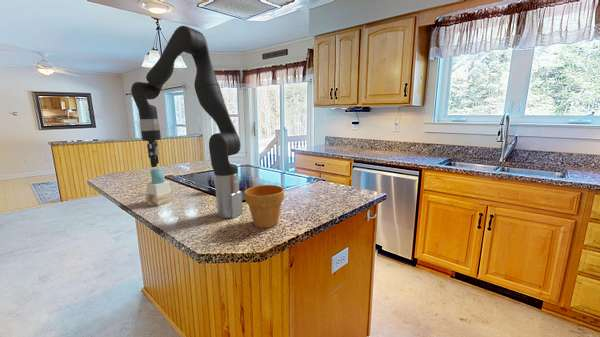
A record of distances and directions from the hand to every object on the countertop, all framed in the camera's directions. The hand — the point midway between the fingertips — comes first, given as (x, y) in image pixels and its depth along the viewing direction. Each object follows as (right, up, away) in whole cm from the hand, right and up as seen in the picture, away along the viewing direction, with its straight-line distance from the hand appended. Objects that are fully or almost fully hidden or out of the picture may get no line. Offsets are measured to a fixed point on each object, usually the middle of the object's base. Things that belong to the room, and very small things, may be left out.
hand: (155, 165), depth 128 cm
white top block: (0, -13, +3) cm, 13 cm away
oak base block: (0, -18, +4) cm, 18 cm away
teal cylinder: (0, -8, +2) cm, 8 cm away
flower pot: (+53, -22, -22) cm, 62 cm away
